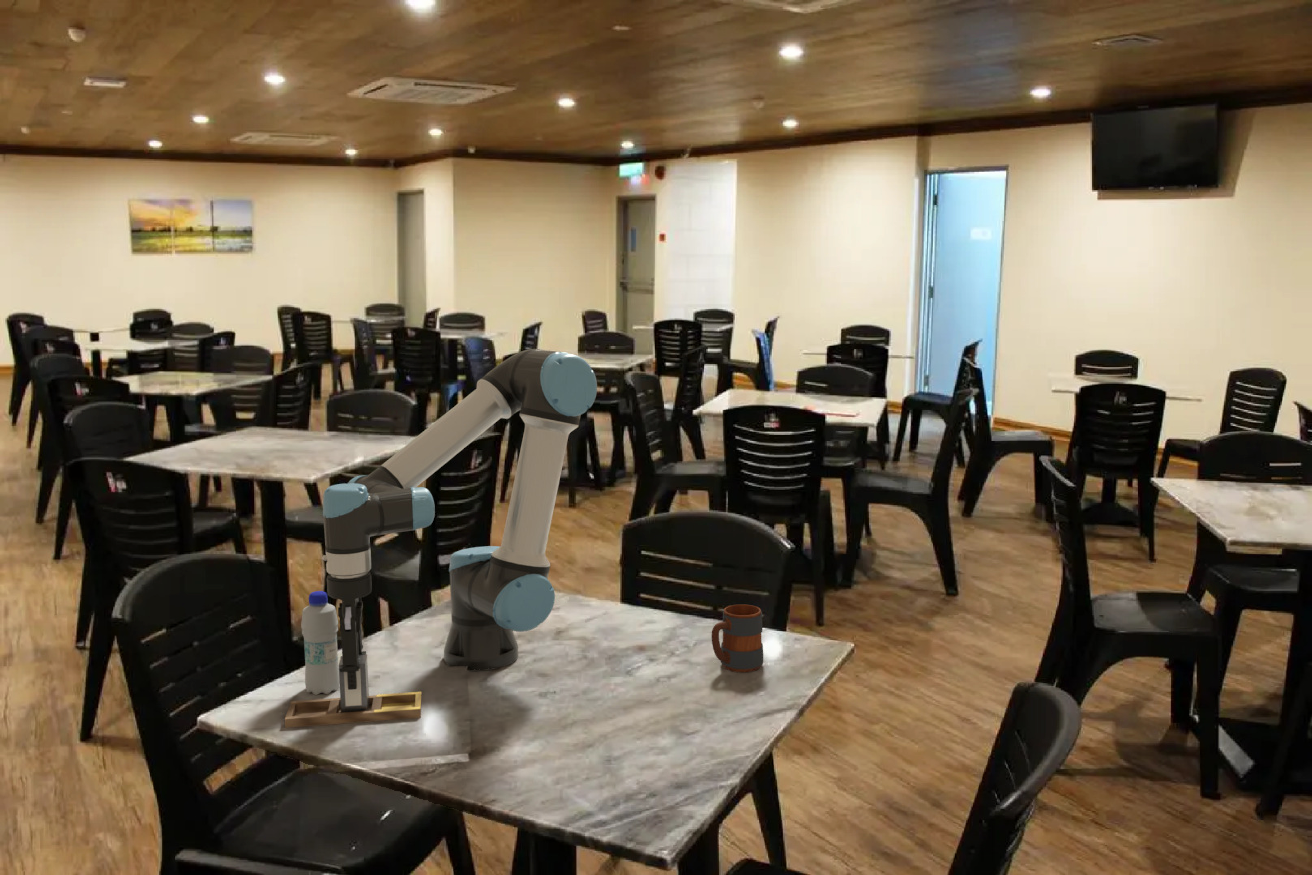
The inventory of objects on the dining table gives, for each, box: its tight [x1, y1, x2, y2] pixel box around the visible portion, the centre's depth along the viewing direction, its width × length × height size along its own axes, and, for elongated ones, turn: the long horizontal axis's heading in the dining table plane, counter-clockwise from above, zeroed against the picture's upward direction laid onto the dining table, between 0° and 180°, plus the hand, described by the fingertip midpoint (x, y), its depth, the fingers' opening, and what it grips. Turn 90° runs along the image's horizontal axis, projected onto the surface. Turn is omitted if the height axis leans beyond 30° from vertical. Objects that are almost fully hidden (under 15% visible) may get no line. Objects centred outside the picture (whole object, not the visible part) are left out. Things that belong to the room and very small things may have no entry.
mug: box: [711, 604, 764, 673], centre depth 221 cm, size 9×12×12 cm
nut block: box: [338, 654, 370, 713], centre depth 197 cm, size 4×4×10 cm
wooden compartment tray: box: [284, 691, 423, 728], centre depth 198 cm, size 23×8×3 cm, turn 101°
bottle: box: [300, 590, 340, 696], centre depth 208 cm, size 7×7×20 cm
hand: (354, 698), depth 197 cm, fingers closed on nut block, 4 cm apart
